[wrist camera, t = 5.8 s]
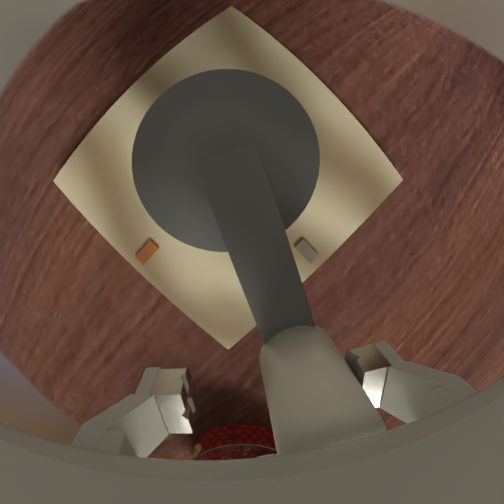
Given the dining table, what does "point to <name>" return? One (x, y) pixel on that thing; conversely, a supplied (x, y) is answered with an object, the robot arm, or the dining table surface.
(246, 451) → the canned food
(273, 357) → the white knob lever
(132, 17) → the dining table surface
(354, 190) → the mount board
